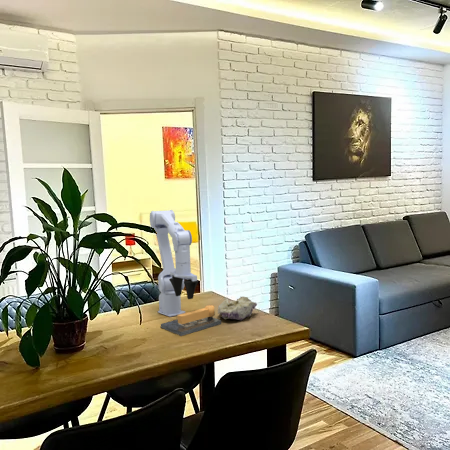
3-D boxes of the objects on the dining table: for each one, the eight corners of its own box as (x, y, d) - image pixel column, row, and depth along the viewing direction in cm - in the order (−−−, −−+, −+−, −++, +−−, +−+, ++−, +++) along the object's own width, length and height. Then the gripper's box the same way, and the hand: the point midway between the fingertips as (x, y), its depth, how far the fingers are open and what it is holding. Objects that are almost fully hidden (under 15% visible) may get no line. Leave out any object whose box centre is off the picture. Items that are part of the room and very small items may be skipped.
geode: (215, 333, 182) (250, 330, 176) (207, 314, 179) (243, 310, 173) (227, 307, 197) (260, 304, 191) (220, 289, 193) (253, 285, 187)
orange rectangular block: (210, 313, 183) (210, 304, 183) (216, 315, 180) (216, 306, 180) (176, 322, 172) (176, 313, 172) (182, 324, 170) (182, 315, 169)
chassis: (160, 327, 175) (160, 322, 174) (200, 316, 187) (200, 311, 187) (181, 336, 165) (180, 330, 165) (221, 324, 177) (221, 318, 177)
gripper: (163, 261, 179) (164, 296, 180) (186, 265, 169) (187, 302, 170) (178, 259, 184) (179, 292, 185) (201, 263, 173) (202, 298, 174)
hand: (184, 297), depth 178 cm, fingers open, 7 cm apart
